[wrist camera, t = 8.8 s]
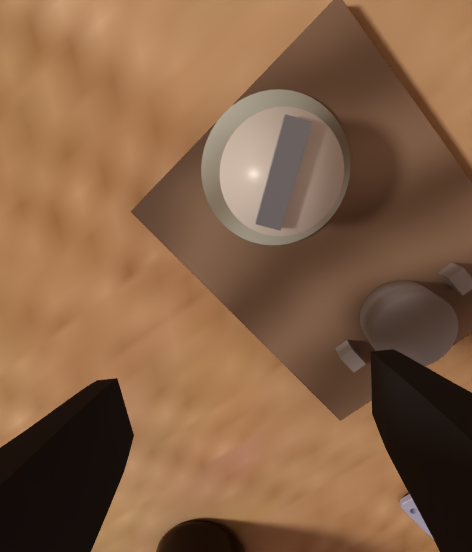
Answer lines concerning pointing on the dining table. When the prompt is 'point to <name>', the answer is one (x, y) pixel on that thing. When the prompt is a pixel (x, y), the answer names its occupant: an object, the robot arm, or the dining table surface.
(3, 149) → the dining table surface
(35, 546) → the robot arm
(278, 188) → the knob
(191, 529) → the supplement bottle
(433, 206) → the base
